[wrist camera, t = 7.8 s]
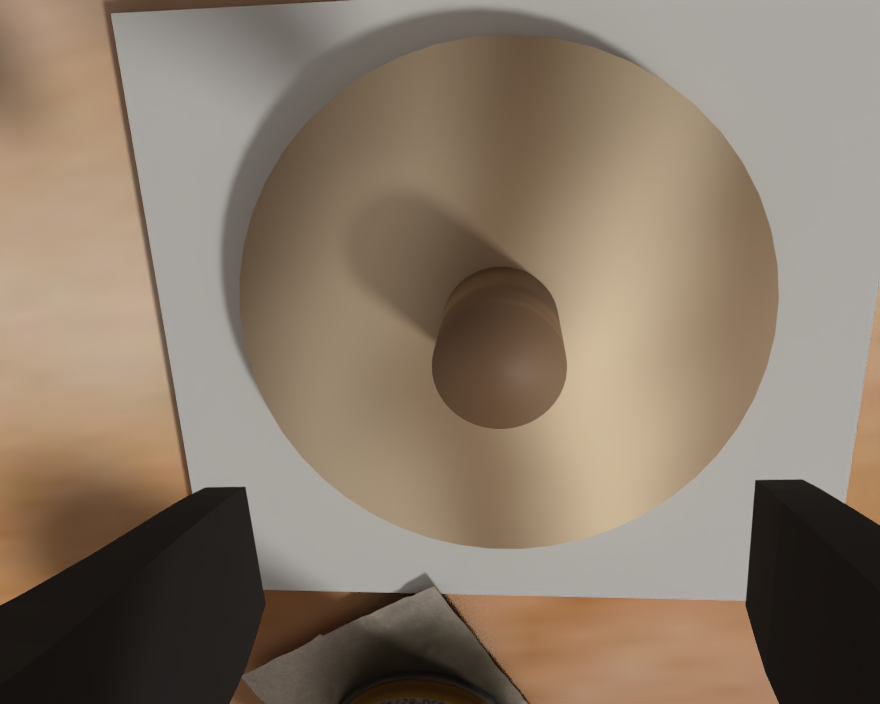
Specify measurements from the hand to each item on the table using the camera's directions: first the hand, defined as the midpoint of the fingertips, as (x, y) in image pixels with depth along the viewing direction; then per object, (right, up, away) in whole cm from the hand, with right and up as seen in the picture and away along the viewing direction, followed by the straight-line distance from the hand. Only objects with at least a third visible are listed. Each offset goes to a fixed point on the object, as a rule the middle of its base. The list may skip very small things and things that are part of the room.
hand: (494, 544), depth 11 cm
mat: (+1, +3, +9) cm, 10 cm away
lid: (+1, +4, +9) cm, 9 cm away
